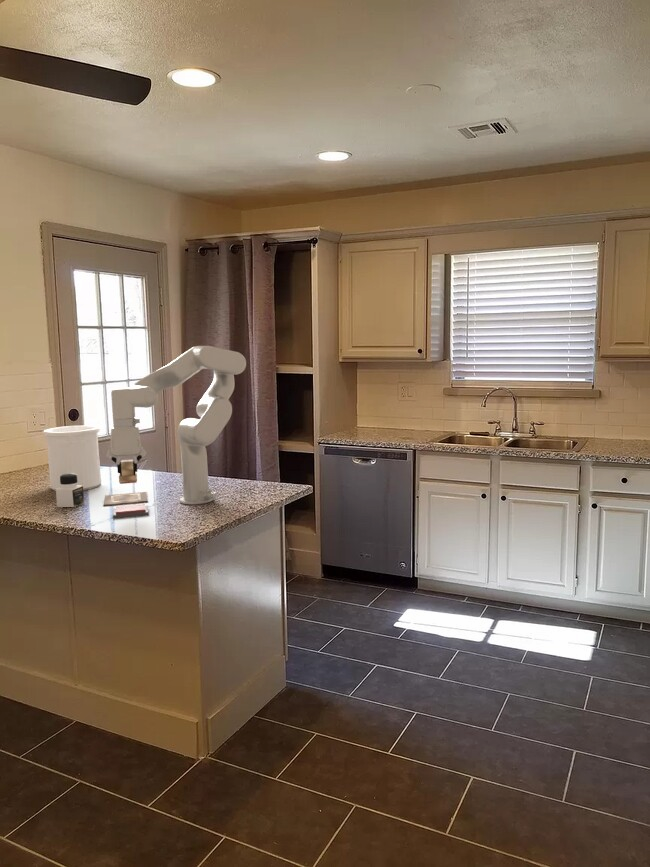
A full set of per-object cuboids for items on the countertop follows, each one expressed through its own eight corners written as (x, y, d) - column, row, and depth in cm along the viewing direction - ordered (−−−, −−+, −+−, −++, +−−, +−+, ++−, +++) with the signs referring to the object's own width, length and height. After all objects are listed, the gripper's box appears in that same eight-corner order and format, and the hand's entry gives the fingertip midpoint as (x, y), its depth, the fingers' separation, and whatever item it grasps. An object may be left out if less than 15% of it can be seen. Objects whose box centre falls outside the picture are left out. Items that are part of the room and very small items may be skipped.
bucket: (107, 489, 282) (103, 429, 279) (50, 496, 273) (44, 434, 269) (99, 478, 305) (95, 423, 302) (46, 484, 296) (41, 427, 292)
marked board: (146, 493, 273) (146, 491, 273) (147, 502, 258) (147, 500, 258) (105, 496, 269) (104, 495, 269) (103, 506, 254) (103, 504, 254)
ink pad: (148, 508, 248) (147, 503, 248) (148, 515, 239) (148, 509, 239) (113, 511, 245) (113, 506, 245) (113, 518, 236) (112, 513, 235)
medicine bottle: (74, 508, 253) (71, 476, 251) (56, 507, 254) (54, 476, 252) (84, 503, 260) (82, 472, 258) (67, 502, 261) (65, 472, 259)
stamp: (136, 479, 244) (135, 458, 243) (137, 482, 238) (135, 461, 237) (119, 480, 242) (118, 460, 241) (119, 484, 237) (117, 462, 236)
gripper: (148, 420, 243) (151, 470, 246) (99, 423, 239) (103, 474, 241) (149, 423, 236) (152, 474, 239) (98, 425, 232) (102, 478, 234)
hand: (127, 474), depth 240 cm, fingers closed on stamp, 4 cm apart
